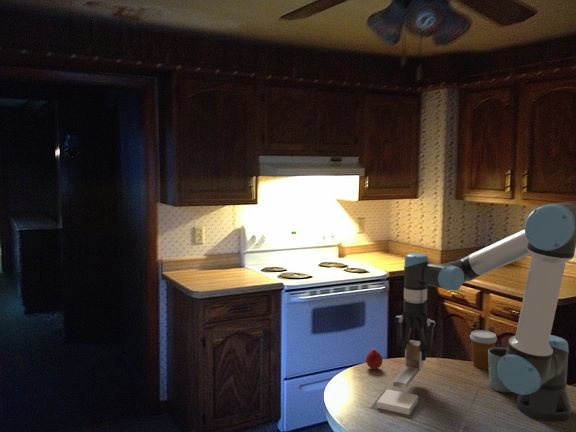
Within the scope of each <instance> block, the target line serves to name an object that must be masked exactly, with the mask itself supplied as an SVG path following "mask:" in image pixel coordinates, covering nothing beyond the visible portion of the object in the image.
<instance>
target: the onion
mask: <svg viewBox="0 0 576 432" xmlns="http://www.w3.org/2000/svg"><path fill="white" fill-rule="evenodd" d="M365 362H366V364H367V366H368V367H369V368H370V369H371V370H373V371H375V370H378V369H379V368H380V367H381V366H382V365H383V356H382V355H381V353H380V352H378V351H377V350H376V349H375V348H372V349H371V351H370V352H368V354H367V355H366V357H365Z"/></svg>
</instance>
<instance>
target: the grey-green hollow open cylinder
mask: <svg viewBox="0 0 576 432" xmlns="http://www.w3.org/2000/svg"><path fill="white" fill-rule="evenodd" d="M506 352H507V347H501V346H500V347H497V346H495V347H494V348H490V349H489V350H488V358H489V359H488V360H489V361H488V362H489V368H488V385H489V386H488V387H489V388H490V389H492V390H494V391H497V392H500V393H512V391H511V390H509V389H508V388H507V387H506V386H505V385H504V384H503V382H502V381H501V380H500V378H499V376H498V372H497V365H498V362H499V361H500V359H501V358H502V357H503V356H505V355H506Z"/></svg>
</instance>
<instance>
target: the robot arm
mask: <svg viewBox="0 0 576 432" xmlns="http://www.w3.org/2000/svg"><path fill="white" fill-rule="evenodd" d="M575 252H576V201H562V202H556V203H553V202H551V203H547V204H543V205H541V206H539V207H537V208H535V209H534V210H532V211H531V212H530V213H529V215H528V217H527V218H526V220H525V223H524V229H522V230H521V231H518V232H516V233H514V234H511V235H509V236H507V237H505V238H503V239H501V240H499V241H496V242H494V243H492V244H490V245H489V246H486V247H484V248H482V249H480V250H477V251H475V252H473V253H470V254H468V255H467V256H465V257H462V258H459V259H456V260H454V261H449V262H446V263H435V262H431V261H429V257H428V255H427V254H424V253H420V252H419V253H415V252H414V253H408V254H406V255H405V258H404V265H403V269H404V270H403V271H404V272H403V273H404V274H403V276H404V277H403V278H404V279H403V280H404V286H403V299H404V300H403V313H402V315H396V316H395V317H394V322H395V324H396V328H395V329H396V345H397V346H398V347H401V349H402V352H401V353H402V354H401V356H402V358H404V368H405V367H406V344H407V343H408V342H409V341H410V337H411V334H412V333H411V332H412V329H416V331H417V333H418V338H419V340H418V341H420V345H421V350H420V351H419V372H422V370H423V369H424V362H425V361H426V360H427V352H430V351H431V350H432V349H433V343H434V342H433V341H434V339H433V338H434V329H435V328H434V327H435V325H436V320H432V319H430V318H429V316H428V314H427V309H428V308H427V307H428V302H427V300H428V286H430V287H433V288H434V287H435V288H438V289H443V290H445V291H446V290H447V291H458V290H460V289H461V287H462V286H463V284H464V283H466V282H467V283H468V282H471V281H474V280H475V279H477V278H478V277H480V276H483V275H485V274H488V273H491V272H493V271H495V270H498V269H500V268H502V267H504V266H507V265H510V264H511V263H513V262H516V261H519V260H521V259H523V258H526V257H528V256H531V257H530V261H529V262H530V264H529V268H528V272H527V276H526V282H525V287H524V293H523V298H522V301H521V302H522V303H521V308H520V312H519V317H518V322H517V328H516V331H515V335H513V336H511V337H510V338H509V339H508V341H507V347H506V348H507V352H506V355H505V356H503V357H502V358H501V359H500V361H499V362H498V365H497V372H498V376H499V378H500V380H501V381H502V382H503V384H504V385H505V386H506V387H507V388H508V389H509V390H511V391H512V392H513V393H514V394H517V397H516V407H517V409H518V410H519V411H520V412H522V413H523V414H524V415H527V416H529V417H532V418H534V419H538V420H542V421H550V422H562V421H565V420H567V419H570V418H571V416H572V404H571V401H570V397H569V394H568V393H569V392H568V391H567V379H568V378H567V377H568V363H569V362H568V361H569V353H570V351H569V342H568V341H567V340H566V339H564V338H562V337H559V336H557V335H552V334H551V333H552V329H553V324H554V320H555V316H556V315H555V314H556V310H557V306H558V302H559V296H560V291H561V287H562V283H563V277H564V272H565V270H566V269H565V268H566V263H567V262H569V261H570V260H573V259H574V257H575ZM403 321H404V322H405V324H406V326H405V333H404V336H403ZM426 323H427V327H428V329H427V340H426V335H425V331H424V329H425V328H424V325H425V324H426ZM512 392H511V393H512Z"/></svg>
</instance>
